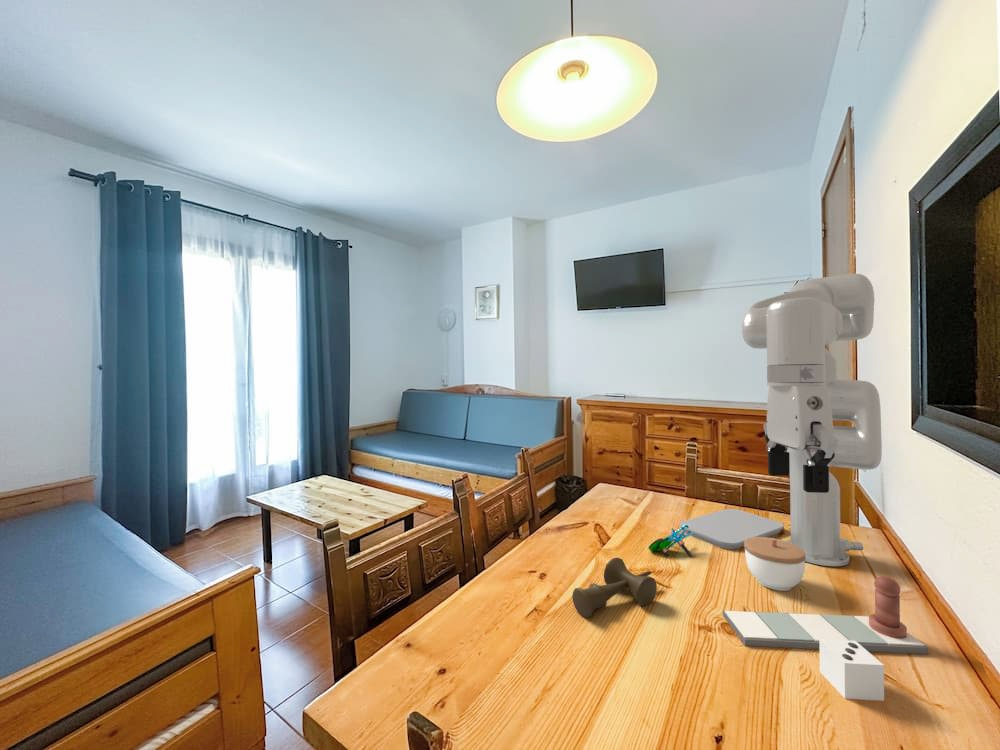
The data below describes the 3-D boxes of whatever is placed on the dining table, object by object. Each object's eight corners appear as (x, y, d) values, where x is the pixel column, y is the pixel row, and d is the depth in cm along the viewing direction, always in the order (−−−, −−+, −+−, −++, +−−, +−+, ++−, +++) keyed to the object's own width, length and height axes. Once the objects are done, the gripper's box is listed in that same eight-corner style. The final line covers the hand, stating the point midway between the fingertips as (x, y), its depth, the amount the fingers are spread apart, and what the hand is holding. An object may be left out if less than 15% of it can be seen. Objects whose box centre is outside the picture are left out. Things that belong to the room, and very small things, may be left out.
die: (855, 673, 60) (855, 639, 60) (884, 701, 55) (883, 664, 55) (819, 671, 60) (819, 638, 60) (844, 698, 55) (844, 662, 55)
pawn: (890, 621, 70) (890, 570, 70) (915, 639, 65) (914, 585, 65) (861, 620, 70) (861, 570, 70) (884, 638, 66) (883, 584, 66)
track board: (884, 622, 71) (884, 615, 71) (928, 654, 63) (928, 646, 63) (723, 615, 74) (722, 609, 74) (745, 645, 66) (744, 638, 66)
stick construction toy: (682, 533, 106) (688, 517, 101) (702, 557, 100) (708, 542, 96) (643, 551, 103) (647, 536, 98) (661, 577, 98) (666, 562, 93)
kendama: (562, 605, 79) (633, 575, 89) (597, 634, 71) (670, 597, 81) (562, 576, 79) (632, 549, 89) (597, 601, 71) (670, 568, 81)
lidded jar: (744, 566, 92) (743, 525, 92) (802, 578, 87) (801, 535, 87) (744, 588, 83) (744, 543, 83) (809, 603, 78) (809, 555, 78)
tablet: (674, 531, 114) (674, 523, 114) (731, 514, 126) (731, 507, 126) (730, 554, 99) (730, 545, 99) (788, 532, 111) (788, 524, 111)
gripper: (862, 377, 55) (863, 500, 55) (788, 375, 72) (789, 470, 73) (803, 377, 56) (804, 499, 56) (744, 376, 73) (745, 469, 73)
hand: (796, 482), depth 64 cm, fingers open, 9 cm apart
